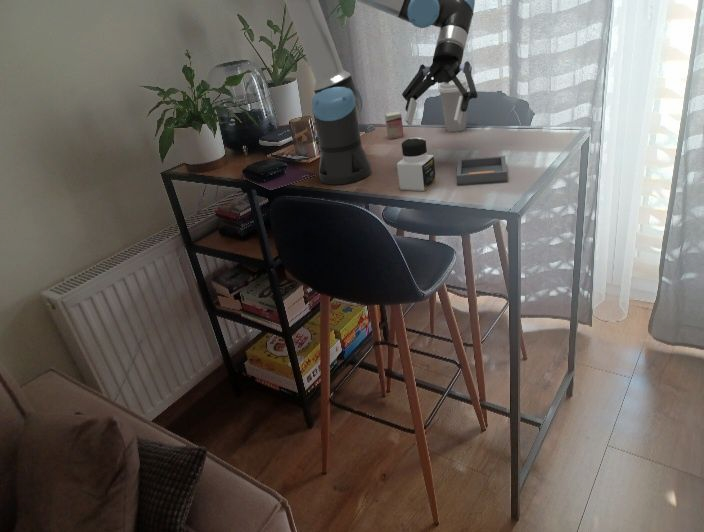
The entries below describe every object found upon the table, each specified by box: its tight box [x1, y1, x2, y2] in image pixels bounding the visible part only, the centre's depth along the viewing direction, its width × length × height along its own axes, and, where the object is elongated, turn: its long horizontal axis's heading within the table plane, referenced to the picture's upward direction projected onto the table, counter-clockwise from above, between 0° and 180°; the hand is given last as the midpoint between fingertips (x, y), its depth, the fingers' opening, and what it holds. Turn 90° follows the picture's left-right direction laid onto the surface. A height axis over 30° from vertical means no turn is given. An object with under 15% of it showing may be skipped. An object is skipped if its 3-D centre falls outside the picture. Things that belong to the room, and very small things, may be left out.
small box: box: [384, 110, 405, 140], centre depth 174 cm, size 5×4×8 cm
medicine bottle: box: [396, 137, 437, 192], centre depth 132 cm, size 7×7×12 cm
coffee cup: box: [438, 78, 469, 133], centre depth 169 cm, size 10×10×15 cm
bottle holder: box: [456, 155, 508, 186], centre depth 133 cm, size 12×12×3 cm
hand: (431, 122), depth 134 cm, fingers open, 13 cm apart
